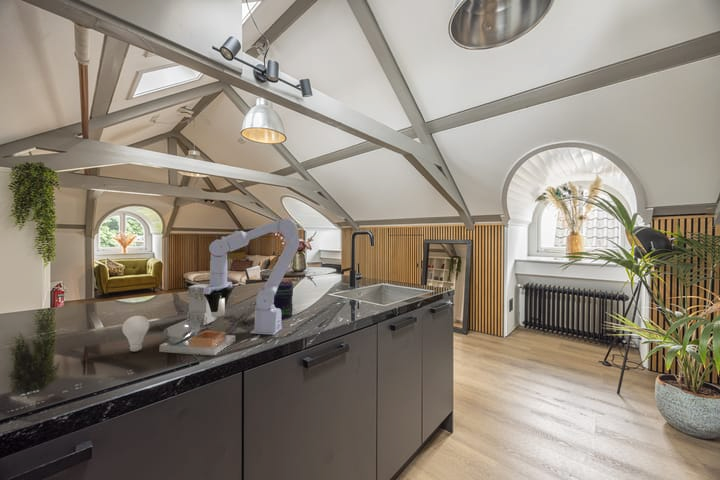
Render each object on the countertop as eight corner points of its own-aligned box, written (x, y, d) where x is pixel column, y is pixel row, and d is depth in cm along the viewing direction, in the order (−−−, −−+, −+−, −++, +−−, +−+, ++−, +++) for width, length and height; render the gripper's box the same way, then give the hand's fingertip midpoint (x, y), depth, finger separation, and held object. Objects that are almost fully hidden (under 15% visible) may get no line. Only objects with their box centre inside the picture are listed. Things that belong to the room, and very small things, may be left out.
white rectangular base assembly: (235, 341, 100) (235, 319, 100) (214, 355, 88) (214, 330, 88) (186, 338, 102) (186, 316, 102) (159, 351, 90) (159, 327, 90)
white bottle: (227, 313, 108) (227, 294, 108) (220, 317, 104) (220, 297, 104) (215, 313, 109) (216, 294, 109) (208, 316, 104) (208, 296, 104)
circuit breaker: (224, 315, 131) (225, 282, 131) (204, 325, 117) (205, 287, 117) (208, 314, 132) (209, 281, 132) (187, 324, 118) (187, 286, 117)
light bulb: (127, 357, 85) (127, 320, 85) (118, 352, 89) (118, 316, 88) (153, 350, 91) (153, 315, 90) (143, 345, 94) (143, 312, 94)
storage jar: (275, 313, 137) (276, 281, 137) (295, 314, 136) (296, 282, 135) (265, 319, 127) (266, 284, 127) (287, 320, 126) (288, 285, 126)
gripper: (220, 270, 114) (219, 304, 114) (195, 275, 99) (194, 314, 100) (237, 270, 113) (236, 305, 113) (214, 275, 99) (214, 315, 99)
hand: (218, 310), depth 106 cm, fingers closed on white bottle, 4 cm apart
